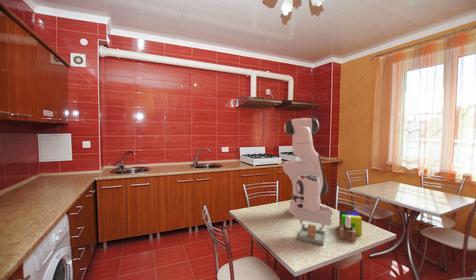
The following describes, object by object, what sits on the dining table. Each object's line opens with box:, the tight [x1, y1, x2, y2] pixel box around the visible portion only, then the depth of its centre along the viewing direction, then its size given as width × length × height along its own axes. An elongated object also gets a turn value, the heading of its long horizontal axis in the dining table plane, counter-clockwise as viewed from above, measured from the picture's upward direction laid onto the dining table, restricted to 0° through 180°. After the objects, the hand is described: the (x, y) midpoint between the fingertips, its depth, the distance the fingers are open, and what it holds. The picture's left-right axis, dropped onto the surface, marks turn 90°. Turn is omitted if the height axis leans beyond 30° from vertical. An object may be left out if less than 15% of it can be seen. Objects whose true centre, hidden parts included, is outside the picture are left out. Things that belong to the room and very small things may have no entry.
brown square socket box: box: [339, 225, 357, 242], centre depth 118 cm, size 8×8×5 cm
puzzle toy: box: [338, 210, 363, 236], centre depth 127 cm, size 10×10×10 cm
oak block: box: [307, 223, 317, 239], centre depth 118 cm, size 4×4×6 cm
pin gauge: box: [345, 215, 351, 230], centre depth 118 cm, size 3×3×12 cm
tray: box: [296, 226, 327, 246], centre depth 118 cm, size 13×13×2 cm
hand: (311, 229), depth 118 cm, fingers open, 8 cm apart
